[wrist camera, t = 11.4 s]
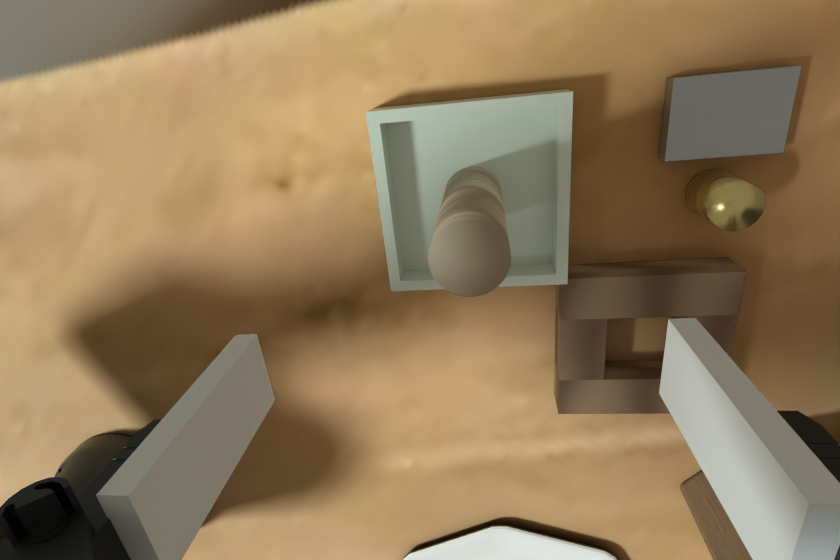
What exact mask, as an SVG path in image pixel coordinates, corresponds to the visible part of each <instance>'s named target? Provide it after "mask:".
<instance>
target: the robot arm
mask: <svg viewBox="0 0 840 560" xmlns="http://www.w3.org/2000/svg"><path fill="white" fill-rule="evenodd" d="M659 394H660V396H661V398H662V399H663V401H664V403H665V405H666V407H667V408H668V410H669V412H670V414H671V415H672V417H673V419H674V421H675V423H676V424H677V426H678V428H679V430H680V431H681V433H682V435H683V437H684V439H685V440H686V442H687V444H688V446H689V447H690V449H691V451H692V453H693V455H694V456H695V458H696V460H697V462H698V463H699V465H700V467H701V469H702V471H703V472H704V474H705V476H706V478H707V479H708V481H709V483H710V485H711V486H712V488H713V490H714V492H715V494H716V495H717V497H718V499H719V501H720V502H721V504H722V506H723V508H724V510H725V511H726V513H727V515H728V517H729V518H730V520H731V522H732V524H733V526H734V527H735V529H736V531H737V533H738V534H739V536H740V538H741V540H742V542H743V543H744V545H745V547H746V549H747V550H748V552H749V554H750V556H751V558H752V559H753V560H840V446H839V445H838V442H837V441H836V440H835V439H834V438H833V437H832V436H831V435H830V434H829V433H828V432H827V431H826V430H825V429H824V428H823V427H822V426H821V425H820V424H818V423H816V422H815V421H813V420H812V419H810V418H808V417H807V416H805V415H804V414H802V413H800V412H799V411H776V410H775V408H774V407H773V406H772V405H771V404H770V403H769V401H768V400H767V399H766V398H765V397H764V396H763V395H762V393H761V392H760V391H759V390H758V389H757V388H756V387H755V385H754V384H753V383H752V382H751V381H750V380H749V379H748V377H747V376H746V375H745V374H744V373H743V372H742V371H741V369H740V368H739V367H738V366H737V365H736V364H735V363H734V361H733V360H732V359H731V358H730V357H729V356H728V355H727V353H726V352H725V351H724V350H723V349H722V348H721V346H720V345H719V344H718V343H717V342H716V341H715V340H714V338H713V337H712V336H711V335H710V334H709V333H708V332H707V330H706V329H705V328H704V327H703V326H702V325H701V324H700V322H699V321H698V320H697V319H696V318H679V319H668V326H667V334H666V342H665V350H664V358H663V366H662V374H661V382H660V390H659ZM274 401H275V397H274V394H273V390H272V387H271V383H270V379H269V376H268V372H267V368H266V365H265V361H264V358H263V354H262V350H261V347H260V343H259V339H258V336H257V334H244V335H235V336H234V337H233V339H232V340H231V341H230V342H229V343H228V344H227V345H226V347H225V348H224V349H223V350H222V351H221V352H220V353H219V355H218V356H217V357H216V358H215V359H214V360H213V361H212V363H211V364H210V365H209V366H208V367H207V368H206V369H205V371H204V372H203V373H202V374H201V375H200V376H199V378H198V379H197V380H196V381H195V382H194V383H193V384H192V386H191V387H190V388H189V389H188V390H187V391H186V392H185V394H184V395H183V396H182V397H181V398H180V399H179V400H178V402H177V403H176V404H175V405H174V406H173V407H172V408H171V410H170V411H169V412H168V413H167V414H166V415H165V417H164V418H163V419H162V420H154V421H152V422H151V423H149V424H148V425H147V426H145V427H144V428H142V429H141V430H139V431H138V432H137V433H136V434H135V435H134V436H133V437H132V436H127V435H119V434H106V435H99V436H95V437H92V438H90V439H88V440H86V441H84V442H83V443H82V444H80V445H79V446H78V447H77V448H76V449H75V450H74V451H73V452H72V453H71V454H70V455H69V456H68V457H67V458H66V459H65V460H64V461H63V463H62V464H61V465H60V467H59V469H58V471H57V473H56V475H55V477H53V478H47V479H44V480H41V481H38V482H35V483H33V484H31V485H29V486H27V487H25V488H23V489H21V490H20V491H19V492H17V493H16V494H14V495H13V496H12V497H10V498H9V499H8V500H7V501H6V502H5V503H4V504H3V505H2V506H1V507H0V560H182V558H183V556H184V555H185V553H186V551H187V549H188V548H189V546H190V544H191V543H192V541H193V539H194V538H195V536H196V534H197V532H198V531H199V529H200V527H201V526H202V524H203V522H204V520H205V519H206V517H207V515H208V514H209V512H210V510H211V509H212V507H213V505H214V503H215V502H216V500H217V498H218V497H219V495H220V493H221V491H222V490H223V488H224V486H225V485H226V483H227V481H228V480H229V478H230V476H231V474H232V473H233V471H234V469H235V468H236V466H237V464H238V462H239V461H240V459H241V457H242V456H243V454H244V452H245V451H246V449H247V447H248V445H249V444H250V442H251V440H252V439H253V437H254V435H255V433H256V432H257V430H258V428H259V427H260V425H261V423H262V422H263V420H264V418H265V416H266V415H267V413H268V411H269V410H270V408H271V406H272V404H273V403H274Z"/></svg>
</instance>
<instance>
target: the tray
mask: <svg viewBox="0 0 840 560" xmlns="http://www.w3.org/2000/svg"><path fill="white" fill-rule="evenodd" d="M572 115H573V91H570V90H568V89H562V90H552V91H542V92H532V93H522V94H512V95H502V96H492V97H481V98H471V99H461V100H451V101H441V102H431V103H421V104H411V105H400V106H390V107H380V108H373V109H371V110H369V111H367V112H366V116H367V124H368V131H369V138H370V145H371V152H372V159H373V167H374V174H375V181H376V188H377V195H378V202H379V210H380V217H381V224H382V231H383V238H384V245H385V252H386V260H387V267H388V274H389V281H390V288H391V291H415V290H440V289H444V288H443V287H442V286H440V285H439V284H438V283H437V281H436V280H435V279H434V277H433V276H432V273H431V271H430V268H429V264H428V252H429V248H430V244H431V241H432V237H433V233H434V229H435V226H436V222H437V218H438V215H439V211H440V207H441V203H442V200H443V196H444V192H445V189H446V185H447V183H448V181H449V180H450V178H451V177H452V176H453V175H454V174H455V173H456V172H458V171H460V170H462V169H464V168H468V167H479V168H483V169H485V170H487V171H489V172H490V173H492V174H493V175H494V176H495V178H496V179H497V180H498V182H499V185H500V188H501V193H502V200H503V206H504V213H505V219H506V225H507V232H508V238H509V245H510V251H511V265H510V269H509V272H508V274H507V276H506V278H505V279H504V281H503V282H502V283H501V284H500V285H499V286H498V287H513V286H537V285H562V284H568V252H569V218H570V184H571V150H572Z"/></svg>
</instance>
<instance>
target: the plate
mask: <svg viewBox="0 0 840 560" xmlns="http://www.w3.org/2000/svg"><path fill="white" fill-rule="evenodd" d="M403 560H617V558H616V557H615V555H613V554H611V553H610V552H608V551H607V550H605V549H602V548H598V547H594V546H590V545H586V544H582V543H578V542H574V541H570V540H566V539H562V538H558V537H554V536H550V535H546V534H542V533H538V532H534V531H530V530H526V529H522V528H518V527H514V526H510V525H491V526H488V527H485V528H482V529H479V530H476V531H473V532H470V533H467V534H464V535H460V536H457V537H454V538H451V539H448V540H445V541H442V542H439V543H436V544H433V545H430V546H427V547H424V548H421V549H418V550H415V551H411V552H409V553H408V554H407V555H406V556H405V557H404V558H403Z"/></svg>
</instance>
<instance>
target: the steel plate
mask: <svg viewBox="0 0 840 560" xmlns="http://www.w3.org/2000/svg"><path fill="white" fill-rule="evenodd" d="M801 67H802V66H799V65H788V66H778V67H767V68H757V69H747V70H737V71H727V72H717V73H707V74H697V75H687V76H677V77H667V81H666V91H665V100H664V110H663V120H662V129H661V139H660V149H659V159H661V160H663V161H665V162H666V161H679V160H692V159H705V158H719V157H732V156H745V155H759V154H772V153H784V148H785V143H786V139H787V134H788V129H789V124H790V119H791V115H792V110H793V105H794V100H795V95H796V91H797V86H798V81H799V76H800V71H801Z"/></svg>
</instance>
